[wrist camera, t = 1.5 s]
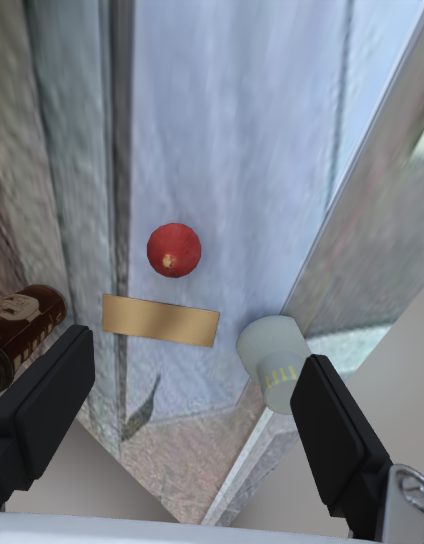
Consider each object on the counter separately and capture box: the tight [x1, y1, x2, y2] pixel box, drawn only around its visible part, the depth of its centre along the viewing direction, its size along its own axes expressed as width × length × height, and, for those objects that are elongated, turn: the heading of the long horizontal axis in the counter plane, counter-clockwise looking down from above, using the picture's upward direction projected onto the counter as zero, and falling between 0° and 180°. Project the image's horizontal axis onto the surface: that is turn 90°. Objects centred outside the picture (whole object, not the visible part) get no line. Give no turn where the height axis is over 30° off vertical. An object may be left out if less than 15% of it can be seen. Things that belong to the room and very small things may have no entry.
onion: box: [147, 223, 201, 278], centre depth 25 cm, size 6×6×8 cm
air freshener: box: [236, 315, 312, 415], centre depth 30 cm, size 11×8×10 cm
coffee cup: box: [0, 285, 67, 392], centre depth 26 cm, size 9×8×13 cm
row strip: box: [103, 294, 220, 347], centre depth 33 cm, size 16×6×1 cm, turn 80°
